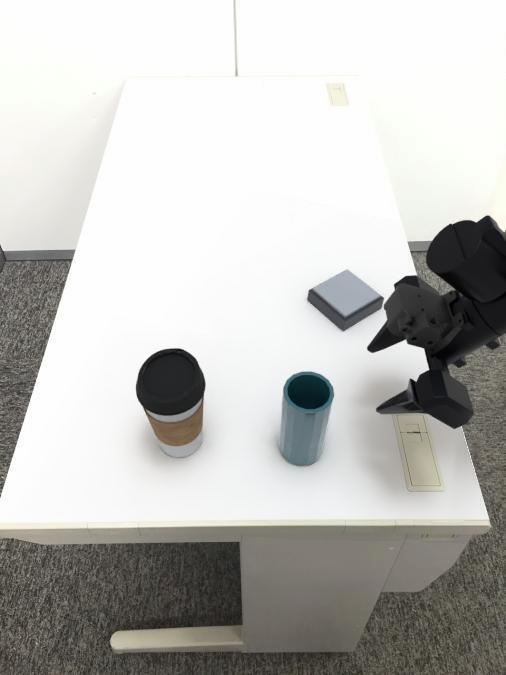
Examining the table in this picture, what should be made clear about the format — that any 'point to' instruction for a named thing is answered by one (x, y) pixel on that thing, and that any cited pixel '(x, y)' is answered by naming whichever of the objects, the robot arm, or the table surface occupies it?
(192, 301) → the table surface
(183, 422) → the coffee cup
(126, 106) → the table surface
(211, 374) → the table surface
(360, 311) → the scale
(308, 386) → the tumbler
